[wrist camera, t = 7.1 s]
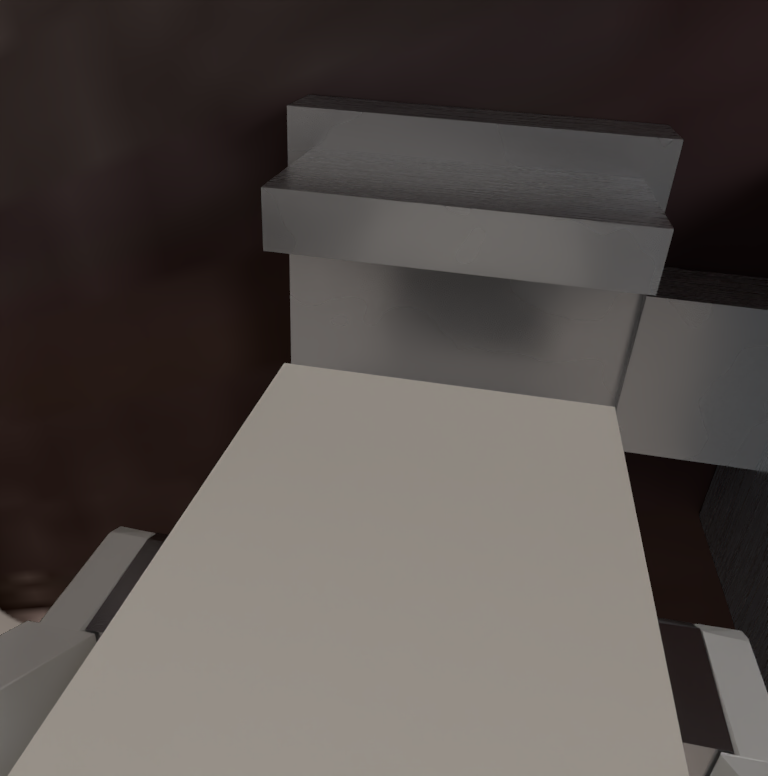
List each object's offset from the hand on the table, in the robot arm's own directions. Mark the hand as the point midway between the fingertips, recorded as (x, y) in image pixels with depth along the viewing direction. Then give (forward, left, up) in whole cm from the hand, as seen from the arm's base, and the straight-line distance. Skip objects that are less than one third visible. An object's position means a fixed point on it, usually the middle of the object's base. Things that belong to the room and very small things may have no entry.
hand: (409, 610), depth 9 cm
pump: (0, 0, -2) cm, 2 cm away
